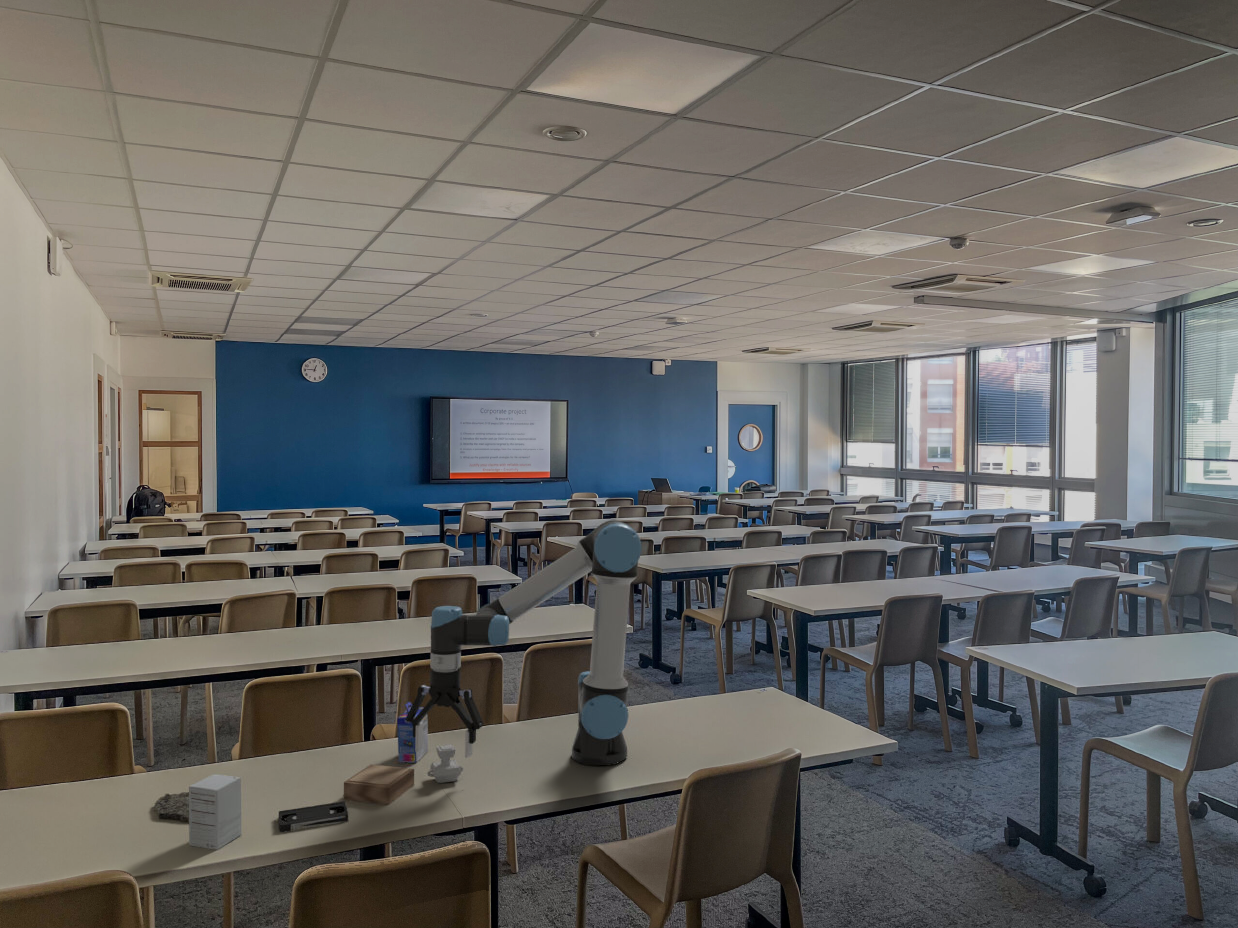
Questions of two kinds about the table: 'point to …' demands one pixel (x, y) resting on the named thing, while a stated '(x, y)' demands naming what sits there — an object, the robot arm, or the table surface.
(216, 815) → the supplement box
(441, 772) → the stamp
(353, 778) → the plinth
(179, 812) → the stone slab
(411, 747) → the ink cartridge box
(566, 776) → the table surface
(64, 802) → the table surface
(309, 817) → the vhs tape
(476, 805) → the table surface
